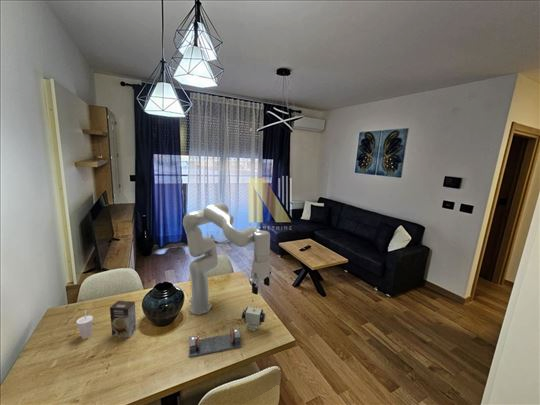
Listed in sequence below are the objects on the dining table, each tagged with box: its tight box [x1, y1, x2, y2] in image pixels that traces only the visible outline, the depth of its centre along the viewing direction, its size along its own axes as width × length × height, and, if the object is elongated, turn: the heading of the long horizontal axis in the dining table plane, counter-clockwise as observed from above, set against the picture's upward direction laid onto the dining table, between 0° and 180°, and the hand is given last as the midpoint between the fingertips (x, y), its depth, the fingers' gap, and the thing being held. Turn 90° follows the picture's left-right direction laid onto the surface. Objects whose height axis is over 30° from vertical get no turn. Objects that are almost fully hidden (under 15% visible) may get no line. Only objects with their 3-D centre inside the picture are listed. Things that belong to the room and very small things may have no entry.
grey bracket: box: [188, 326, 242, 359], centre depth 115 cm, size 24×9×7 cm, turn 107°
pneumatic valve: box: [241, 306, 266, 332], centre depth 127 cm, size 6×12×12 cm, turn 78°
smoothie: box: [76, 310, 94, 339], centre depth 116 cm, size 6×6×14 cm
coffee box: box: [109, 300, 137, 338], centre depth 120 cm, size 9×6×16 cm
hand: (260, 289), depth 118 cm, fingers open, 9 cm apart
